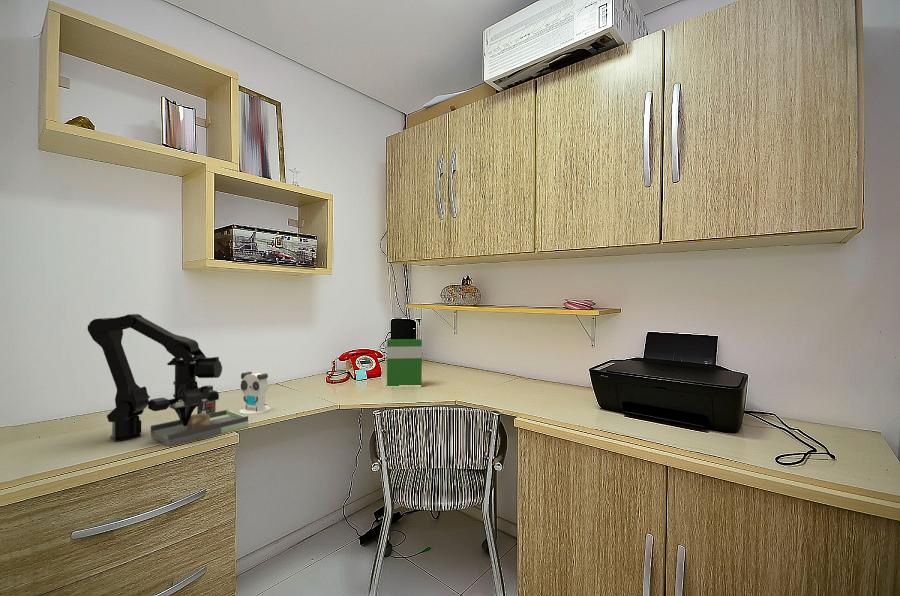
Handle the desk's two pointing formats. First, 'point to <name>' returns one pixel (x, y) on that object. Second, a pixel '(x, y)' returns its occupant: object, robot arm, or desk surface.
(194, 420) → the maple block
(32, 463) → the desk surface
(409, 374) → the hardback book
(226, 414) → the shallow grey tray
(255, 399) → the panda figurine
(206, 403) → the supplement bottle
